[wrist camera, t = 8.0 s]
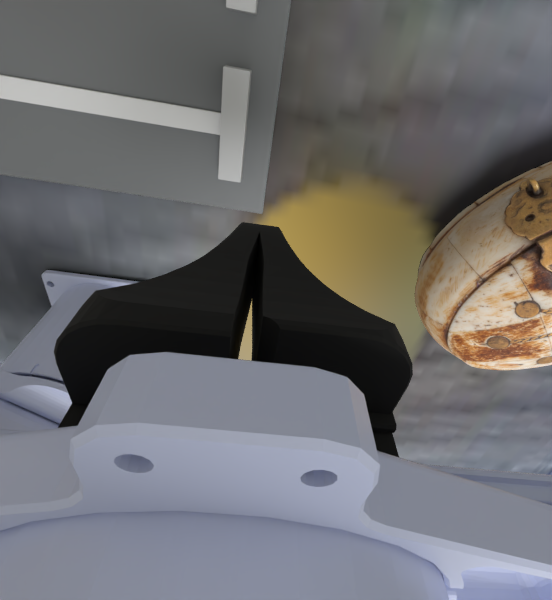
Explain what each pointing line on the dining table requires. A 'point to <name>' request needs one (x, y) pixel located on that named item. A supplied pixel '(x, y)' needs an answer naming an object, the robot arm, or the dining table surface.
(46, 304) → the dining table surface
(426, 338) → the dining table surface
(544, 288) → the trinket box
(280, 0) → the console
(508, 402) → the dining table surface
